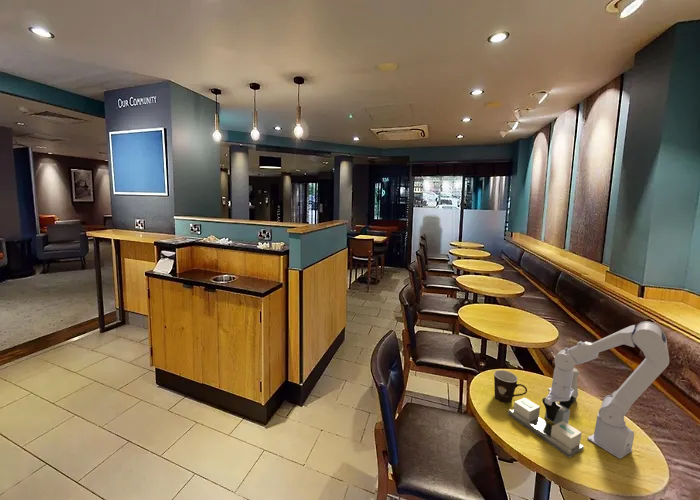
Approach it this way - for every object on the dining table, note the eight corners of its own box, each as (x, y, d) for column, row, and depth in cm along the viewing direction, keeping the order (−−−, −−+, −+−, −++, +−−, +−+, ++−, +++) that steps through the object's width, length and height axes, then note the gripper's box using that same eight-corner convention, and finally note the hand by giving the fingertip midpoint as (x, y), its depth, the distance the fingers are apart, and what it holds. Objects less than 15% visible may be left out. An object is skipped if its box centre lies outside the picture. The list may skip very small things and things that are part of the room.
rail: (583, 449, 104) (584, 443, 104) (569, 457, 100) (570, 451, 100) (521, 408, 123) (522, 403, 123) (507, 414, 120) (508, 409, 119)
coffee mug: (487, 394, 132) (489, 372, 130) (502, 389, 135) (504, 368, 133) (510, 412, 121) (513, 388, 120) (526, 406, 125) (529, 383, 123)
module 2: (579, 444, 104) (581, 432, 104) (569, 450, 102) (571, 438, 101) (560, 432, 110) (562, 420, 109) (550, 437, 107) (552, 425, 106)
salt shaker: (571, 394, 133) (576, 365, 131) (580, 403, 127) (585, 373, 125) (557, 393, 134) (561, 364, 131) (564, 401, 128) (569, 372, 126)
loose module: (567, 424, 115) (570, 409, 114) (561, 428, 114) (563, 412, 112) (551, 414, 121) (553, 399, 119) (544, 417, 119) (546, 402, 118)
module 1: (538, 417, 117) (540, 406, 116) (528, 422, 114) (529, 411, 113) (523, 407, 122) (524, 397, 121) (513, 412, 119) (514, 401, 119)
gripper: (562, 372, 121) (557, 404, 123) (538, 381, 115) (533, 415, 117) (582, 382, 115) (576, 415, 117) (558, 392, 108) (553, 427, 111)
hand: (556, 416), depth 117 cm, fingers open, 7 cm apart
